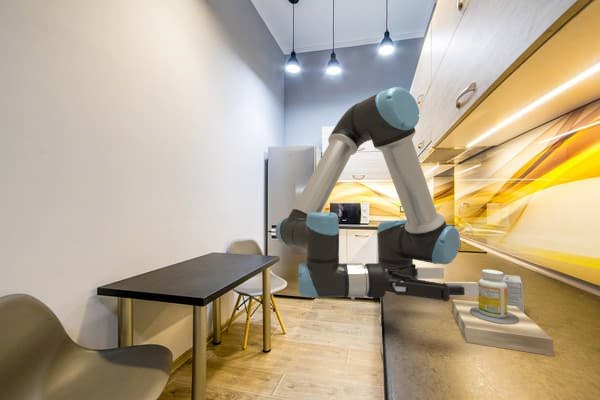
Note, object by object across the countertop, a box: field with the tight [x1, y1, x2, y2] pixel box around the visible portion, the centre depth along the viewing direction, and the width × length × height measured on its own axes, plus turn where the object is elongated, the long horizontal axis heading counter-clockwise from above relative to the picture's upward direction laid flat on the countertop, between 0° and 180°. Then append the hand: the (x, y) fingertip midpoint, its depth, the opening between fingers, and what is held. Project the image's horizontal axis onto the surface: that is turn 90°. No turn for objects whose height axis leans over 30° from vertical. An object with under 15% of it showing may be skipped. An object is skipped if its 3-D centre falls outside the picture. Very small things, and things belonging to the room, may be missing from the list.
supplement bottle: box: [477, 269, 507, 318], centre depth 61 cm, size 5×5×10 cm
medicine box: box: [502, 274, 525, 314], centre depth 72 cm, size 8×4×9 cm, turn 143°
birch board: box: [451, 299, 555, 357], centre depth 61 cm, size 18×14×3 cm
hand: (458, 280), depth 61 cm, fingers open, 13 cm apart
